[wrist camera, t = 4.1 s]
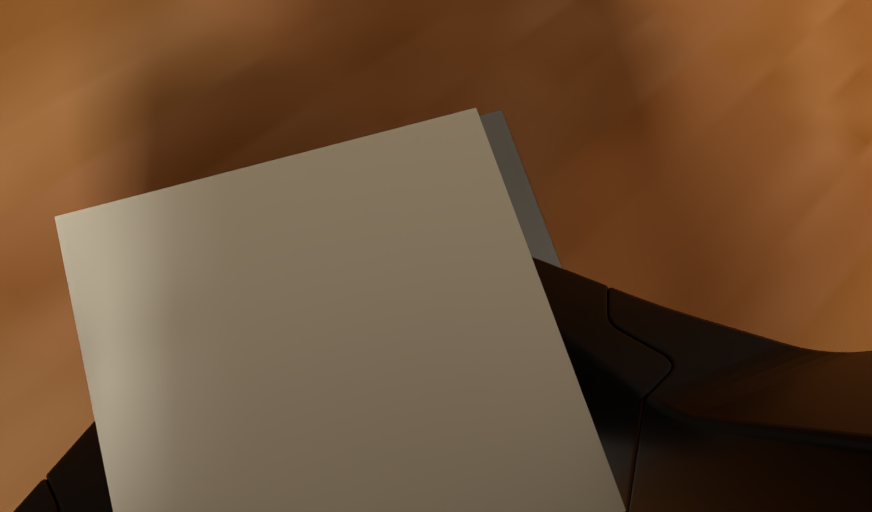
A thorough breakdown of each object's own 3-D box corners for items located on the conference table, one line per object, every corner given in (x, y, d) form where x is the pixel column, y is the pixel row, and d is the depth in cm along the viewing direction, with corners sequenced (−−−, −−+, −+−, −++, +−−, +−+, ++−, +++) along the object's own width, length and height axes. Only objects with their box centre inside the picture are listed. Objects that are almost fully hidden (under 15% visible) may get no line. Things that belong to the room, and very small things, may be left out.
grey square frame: (610, 482, 15) (652, 505, 13) (228, 639, 13) (194, 700, 11) (485, 144, 17) (501, 109, 15) (137, 239, 16) (91, 217, 13)
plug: (454, 402, 15) (625, 510, 4) (327, 448, 14) (153, 711, 4) (414, 280, 16) (475, 107, 5) (291, 319, 15) (54, 216, 4)
